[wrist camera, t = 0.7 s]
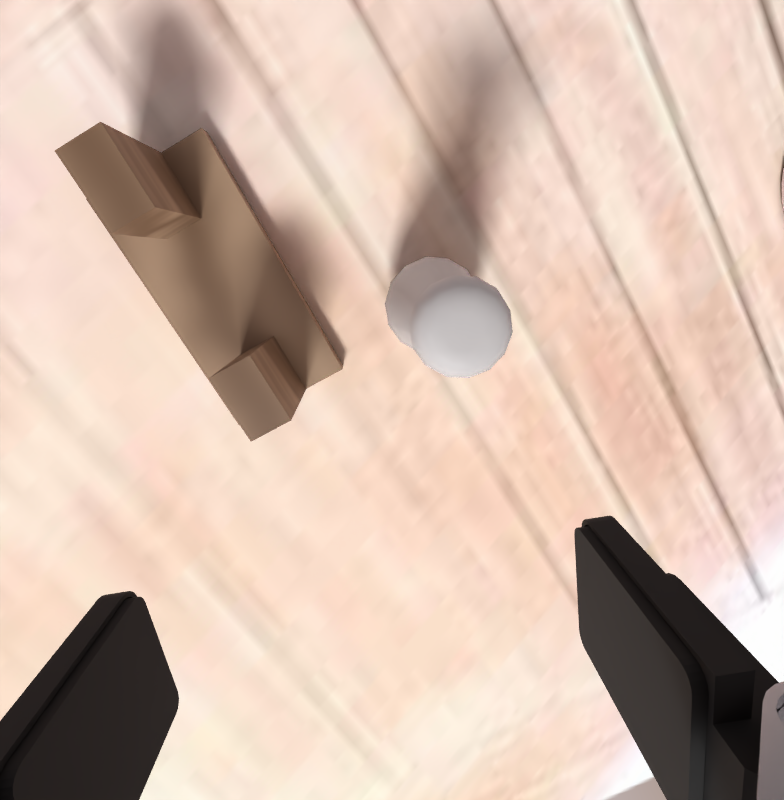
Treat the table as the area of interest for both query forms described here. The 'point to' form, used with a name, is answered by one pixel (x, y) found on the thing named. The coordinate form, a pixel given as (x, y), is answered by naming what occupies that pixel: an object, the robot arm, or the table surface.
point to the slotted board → (207, 269)
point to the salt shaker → (448, 317)
